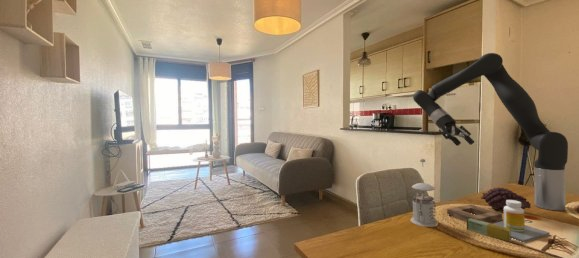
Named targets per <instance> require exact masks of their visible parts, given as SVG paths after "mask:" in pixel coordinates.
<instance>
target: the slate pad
mask: <svg viewBox="0 0 579 258" xmlns="http://www.w3.org/2000/svg"><path fill="white" fill-rule="evenodd" d="M492 224H495V225H499V226H502V227H504V220H500V221H496V222H492ZM550 234H551V233H550V232H549V231H546V230H543V229H539V228H536V227H532V226H530V225H526V224H524V231H523V232H516V231H512V230H511V239H512V238H513V239H512V240H514V239H516V240H515V241H517V240H518V242H520V241H521V242H520V243H523V242H524V243H527V242H531V241H534V240H537V239H540V237H541V238H544V237H547V235H548V236H550ZM543 236H544V237H543Z"/></svg>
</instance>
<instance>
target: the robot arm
mask: <svg viewBox="0 0 579 258" xmlns="http://www.w3.org/2000/svg"><path fill="white" fill-rule="evenodd" d="M503 62H504V61H503V57H502V56H501V55H500V54H498V53H496V52H489V53H485V54H483V55H482V56H480V57H479V59H477V60H476V61H475V62H473V63H472V64H470V65H469V66H467V67H466V68H464V69H462V70H460V71H458V72H457V73H455V74H452V75H450V76H448V77H446V78H445V79H442V80H441V81H439V82H437V83H435V84H434V85H432V86H431V90H430V91H429V92H426V90H417V91H415V92H414V93H413V96H412V98H413V101H414V102H415V103H416V104H417V105H418V106H419V107H420V108H421V109H422V110H423V111H424V113H425V114H426V115H427V116H428V117H429V118H430V120H431V121H432V122H433V124H434V125H436V127H438V128H439V129H438V131H439V133H440V134H441V135H442V136H443V138H444V139H445V140H450V141H452V143H453V144H454V145H455V146H458V147H459V146H460V145H461V144H462V142H461V141H460V140H459V139H458V138H457V137H459V138H462V139H464V140H465V141H466V142H467V143H468V145H471V146H472V145H474V143H475V140H474V139H473V138H472V137H471V135H472V133H471V132H470V131H469V130H467V128H466V127H464V126H463V125H460V126H458V125H457V120H456V119H454V118H453V117H452V115H450V113H448V112H447V111H446V109H443V108H442V107H441V105H439V104H438V103H437V102H436V101H437V100H439V99H440V98H441V97H443V96H445V95H447V94H449V93H451V92H453V91H454V90H456V89H458V88H460V87H462V86H463V85H465V84H468V83H469V82H470V81H473V80H475V79H477V78H479V77H482V76H484V78H485V79H486V80H487V81H488V82H489V83H490V85H491V86H492V87H493V89H494V91H495V93H496V94H497V97H498V98H499V100H500V102H501V103H502V104H503V105H504V107H505V109H506V110H507V111H508V112H509V114H510V115H511V116H512V118H513V119H514V120H515V121H516V122H517V124H518V125H519V126H520V127H521V129H522V131H523V132H524V134H525V136H526V138H527V140H528V141H529V143H530V145H531V146H532V147H533V149H535V150H536V151H538V153H537V154H538V155H537V158H536V160H534V162H533V172H534V178H533V179H534V182H533V183H534V206H535V207H538V208H540V209H545V210H550V211H565V210H566V169H565V168H566V165H567V163H568V155H569V154H568V153H569V143H568V140H567V138H566V136H565V135H564V134H562V133H560V132H558V131H550V129H548V128H547V126H546V125H545V124H544V123H543V121H541V119H540V116H539V112H538V109H537V105H536V104H535V101H534V100H533V99H532V97H531V95H529V93H528V92H527V91H526V90H525V89H524V88H523V86H522V85H521V84H519V83H518V82H517V81H516V80H515V79H513V78H512V76H511V75H510V74H509V72H508V71H507V69H506V67H505V66H504V65H503Z"/></svg>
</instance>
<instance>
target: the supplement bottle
mask: <svg viewBox="0 0 579 258" xmlns="http://www.w3.org/2000/svg"><path fill="white" fill-rule="evenodd" d="M506 205H507V206H505V207H504V209H503V221H504V227H506V228H510V229H511V230H512V231H516V232H523V231H524V225H525V209H522V208H521V202H519V201H515V200H506Z"/></svg>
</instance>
